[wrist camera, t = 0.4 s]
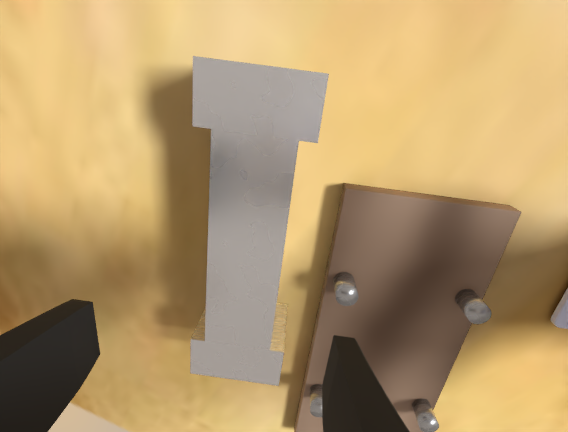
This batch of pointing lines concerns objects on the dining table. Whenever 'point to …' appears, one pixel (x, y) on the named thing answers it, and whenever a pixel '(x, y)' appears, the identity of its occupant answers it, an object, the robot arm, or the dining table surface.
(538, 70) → the dining table surface
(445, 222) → the board
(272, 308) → the gray notched block
